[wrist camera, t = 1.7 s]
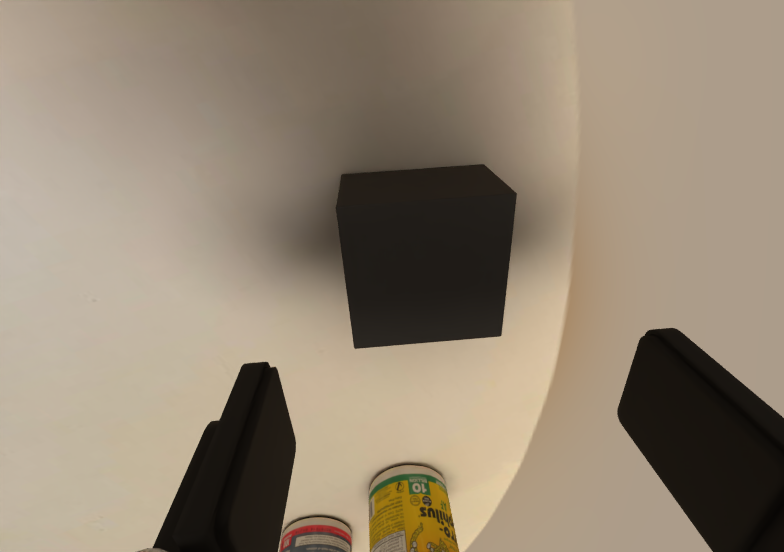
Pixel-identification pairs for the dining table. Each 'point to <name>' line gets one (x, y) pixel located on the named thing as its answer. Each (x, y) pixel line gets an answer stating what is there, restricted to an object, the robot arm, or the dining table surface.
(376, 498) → the supplement bottle
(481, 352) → the dining table surface
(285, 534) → the pill bottle
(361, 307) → the pad
